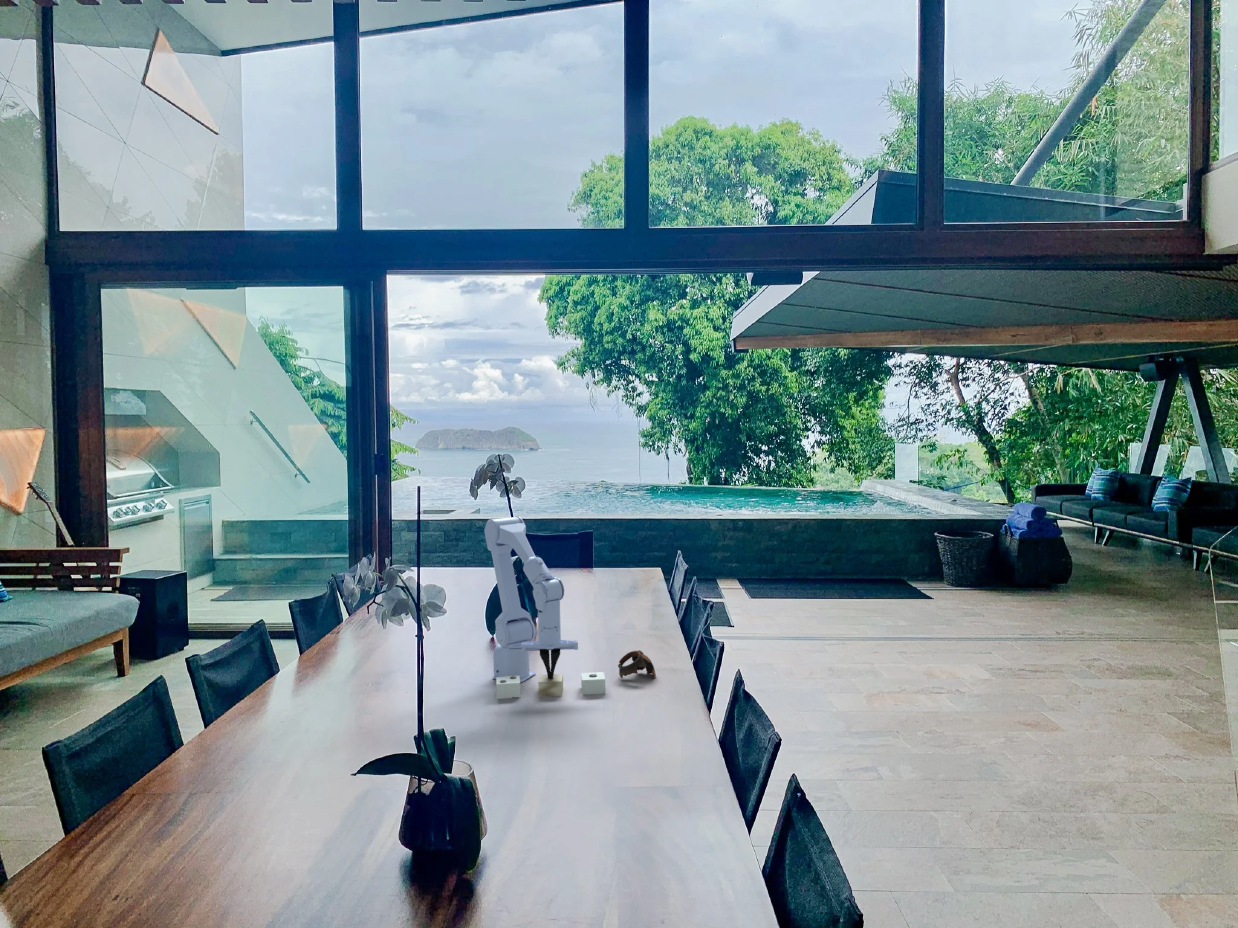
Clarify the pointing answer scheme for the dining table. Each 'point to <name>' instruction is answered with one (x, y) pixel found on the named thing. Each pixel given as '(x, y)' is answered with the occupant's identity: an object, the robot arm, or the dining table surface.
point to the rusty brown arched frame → (636, 664)
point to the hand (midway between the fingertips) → (550, 677)
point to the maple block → (550, 685)
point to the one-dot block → (593, 683)
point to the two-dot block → (508, 687)
